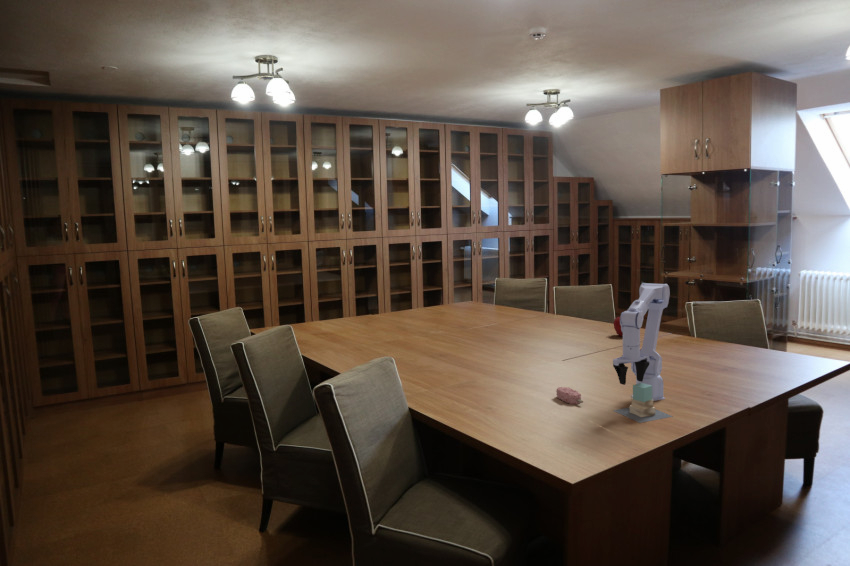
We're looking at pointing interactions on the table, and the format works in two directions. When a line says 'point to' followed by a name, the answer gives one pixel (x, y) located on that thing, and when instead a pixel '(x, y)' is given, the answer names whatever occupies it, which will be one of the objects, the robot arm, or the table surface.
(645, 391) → the teal block
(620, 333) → the apple
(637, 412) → the tower base
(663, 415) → the felt mat
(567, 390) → the ice cream bar
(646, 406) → the tower mid
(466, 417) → the table surface
